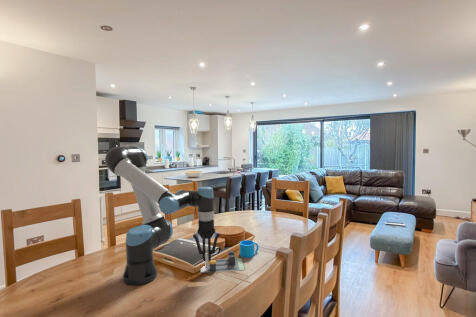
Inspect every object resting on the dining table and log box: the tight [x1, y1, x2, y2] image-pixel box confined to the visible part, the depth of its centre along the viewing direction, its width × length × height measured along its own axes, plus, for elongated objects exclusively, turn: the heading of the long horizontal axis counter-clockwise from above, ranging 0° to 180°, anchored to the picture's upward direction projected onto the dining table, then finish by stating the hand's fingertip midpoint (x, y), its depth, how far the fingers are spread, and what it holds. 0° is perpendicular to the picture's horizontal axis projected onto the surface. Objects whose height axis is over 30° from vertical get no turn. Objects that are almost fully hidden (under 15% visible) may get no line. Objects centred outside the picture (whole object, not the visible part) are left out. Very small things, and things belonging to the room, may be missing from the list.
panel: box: [199, 257, 246, 274], centre depth 134 cm, size 22×14×2 cm, turn 96°
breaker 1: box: [227, 250, 235, 260], centre depth 139 cm, size 3×2×4 cm
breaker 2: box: [229, 254, 236, 265], centre depth 135 cm, size 3×2×4 cm
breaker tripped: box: [210, 260, 216, 271], centre depth 128 cm, size 3×2×4 cm
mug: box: [239, 239, 260, 259], centre depth 148 cm, size 12×8×8 cm
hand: (207, 267), depth 128 cm, fingers closed
